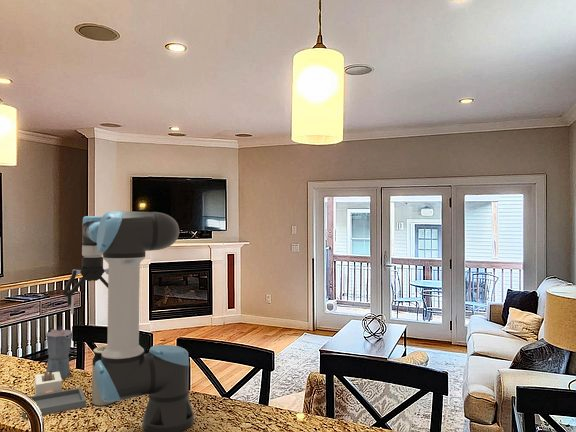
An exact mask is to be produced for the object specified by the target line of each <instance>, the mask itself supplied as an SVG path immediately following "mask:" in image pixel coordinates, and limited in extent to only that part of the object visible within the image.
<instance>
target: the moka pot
mask: <svg viewBox="0 0 576 432" xmlns="http://www.w3.org/2000/svg"><path fill="white" fill-rule="evenodd" d="M62 327H63V326H62V325H58V326H57V330H56V329H54V328H52V327H49V329H48V330H47V332H46V344H47V352H48V360H47V365H46V369H45V370H46V371H45V372H47V371H52V372H60V375H61V379H62V380H64V379H67V378H68V377H70V375H71V369H70V357H69V355H70V351H71V345H72V340H73V339H72V338H73V334H74V333H73V331H72V330H71V329H70V330H69V329H62Z"/></svg>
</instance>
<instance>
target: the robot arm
mask: <svg viewBox="0 0 576 432" xmlns="http://www.w3.org/2000/svg"><path fill="white" fill-rule="evenodd" d="M81 227H82V232H81V233H82V234H81V235H82V237H81V239H82V241H81V243H82V245H81V246H82V247H81V255H82V258H81V268H80V269H72V270H71V271H72V273H71V276H70V277H69V279H68V281H67V283H66V285H65V286H64V289H62V290H63V291H62V293H61V294H62V295H63V296H67V305H68V306H70V315H74V308H75V307H74V304H75V303H74V300H75V299H74V298H75V296H74V295H73V294H75V292H76V291H77V290H78V289H79V288H80V287H81V286H82V284H83V283H85V282H92V281H94V282H95V281H98V280H100V282H101V283H102V284H103V285H104V286H105V287H106V288H107V289H108V290H107V335H106V336H107V340H106V341H107V342H106V344H107V345H106V346H107V348H106V349H105V350H104V351H103V352H102V356H101V360H98V361H97V362H96V363H95V377H96V383H97V388H98V391H99V395H100V397H101V399H102V400H103V401H105V402H113V401H115V402H121V401H123V400H124V401H125V400H128V399H132V398H133V399H134V398H138V397H142V396H148V401H147V405H146V407H145V411H144V413H143V416H142V429H143V430H144V431H146V432H184V431H185V430H188V429H189V428H190V427H192V425H193V424H194V423H195V421H194V420H195V414H194V410H193V407H192V405H191V404H192V403H191V401H190V398H189V375H190V373H189V372H190V371H189V370H190V369H189V368H190V361H189V359H190V358H189V352H188V350H187V349H185V348H183V347H181V346H180V345H172V344H156V345H152V346H151V347H150V348H149V351H148V353H145V349H144V348H143V347H142V346H141V345H140V341H139V340H140V286H141V285H140V281H141V280H140V276H141V274H140V273H141V263H142V262H143V261H144V260H145V258H146V251H147V252H149V251H160V250H164V249H166V248H169V247H172V245H174V243H176V241H177V240H178V239H179V235H180V228H179V224H178V222H177V221H176V219H175V218H173V217H172V216H170V215H169V214H166V213H163V212H158V211H129V210H126V211H125V210H118V211H117V210H116V211H106V212H105V213H104V214H103V215H102V216H101V215H100V216H99V215H98V216H96V215H95V216H94V215H93V216H92V215H87V216H86V215H85V216H83V218H82V223H81ZM104 261H105V262H106V263H107V264H108V267H107V268H104ZM104 273H105V274H106V275H107V276H108V277H107V279H108V280H105V278H104V277H103V275H104ZM79 275H81V276H82V277H81V278H80V279H79V280H78V282H76V283H75V285H74V286H73V287H72V285H73V283H74V281H75V279H76V278H77V276H79ZM107 281H108V282H107ZM70 288H71V289H70ZM69 290H70V291H69Z"/></svg>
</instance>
